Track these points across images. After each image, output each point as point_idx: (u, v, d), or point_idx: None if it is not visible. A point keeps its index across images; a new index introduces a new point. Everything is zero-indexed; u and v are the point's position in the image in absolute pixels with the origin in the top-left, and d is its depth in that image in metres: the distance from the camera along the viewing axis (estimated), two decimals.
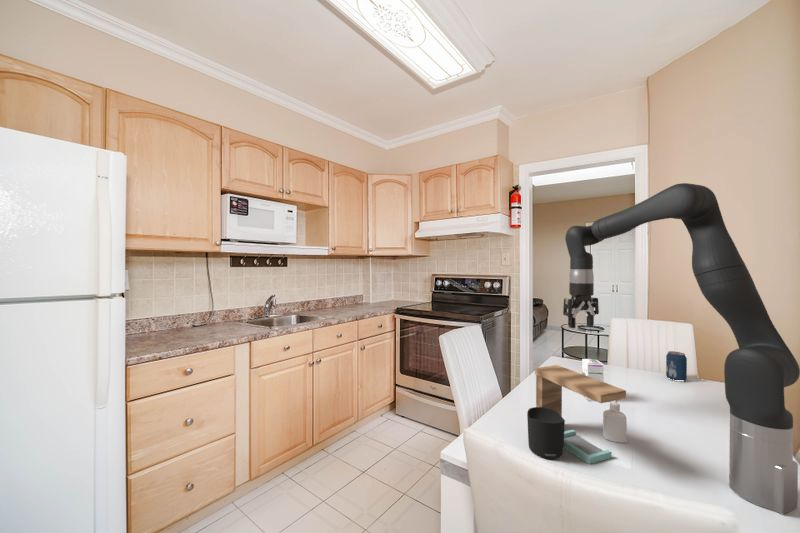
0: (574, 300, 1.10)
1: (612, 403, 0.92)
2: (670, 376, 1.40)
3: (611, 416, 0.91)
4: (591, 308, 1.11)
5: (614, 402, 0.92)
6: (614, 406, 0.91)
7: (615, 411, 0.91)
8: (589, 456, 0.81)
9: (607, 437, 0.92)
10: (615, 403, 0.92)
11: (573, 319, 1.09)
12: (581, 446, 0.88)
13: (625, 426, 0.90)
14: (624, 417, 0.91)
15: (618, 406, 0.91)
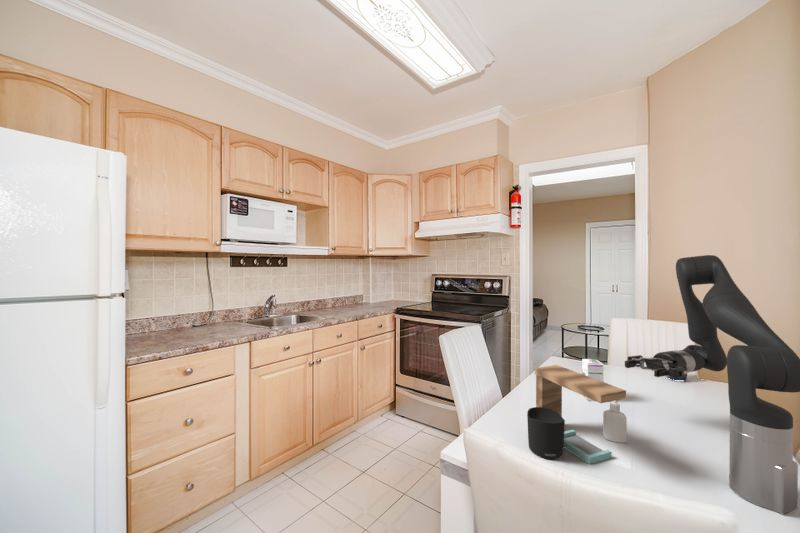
0: None
1: (612, 403, 0.92)
2: None
3: (611, 416, 0.91)
4: (665, 363, 0.96)
5: (614, 402, 0.92)
6: (614, 406, 0.91)
7: (615, 411, 0.91)
8: (589, 456, 0.81)
9: (607, 437, 0.92)
10: (615, 403, 0.92)
11: (631, 360, 1.02)
12: (581, 446, 0.88)
13: (625, 426, 0.90)
14: (624, 417, 0.91)
15: (618, 406, 0.91)
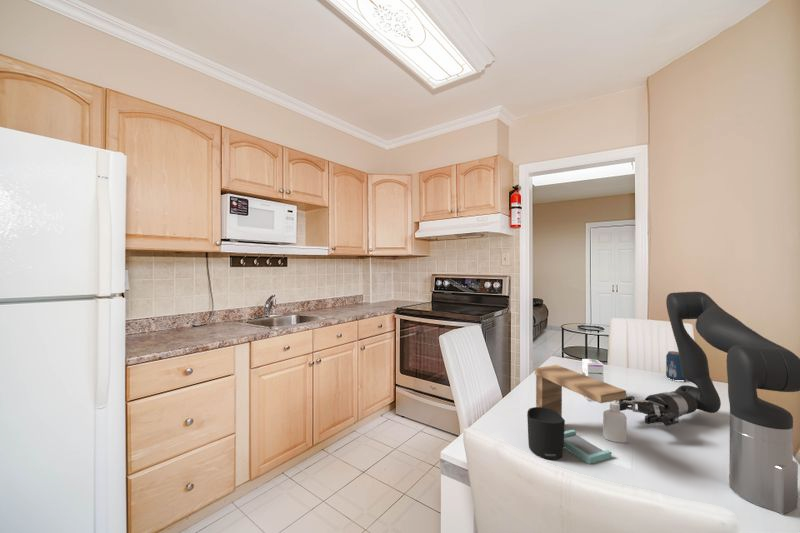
0: None
1: (612, 403, 0.92)
2: (670, 376, 1.40)
3: (611, 416, 0.91)
4: (656, 408, 0.94)
5: (614, 402, 0.92)
6: (614, 406, 0.91)
7: (615, 411, 0.91)
8: (589, 456, 0.81)
9: (607, 437, 0.92)
10: (615, 403, 0.92)
11: None
12: (581, 446, 0.88)
13: (625, 426, 0.90)
14: (624, 417, 0.91)
15: (618, 406, 0.91)
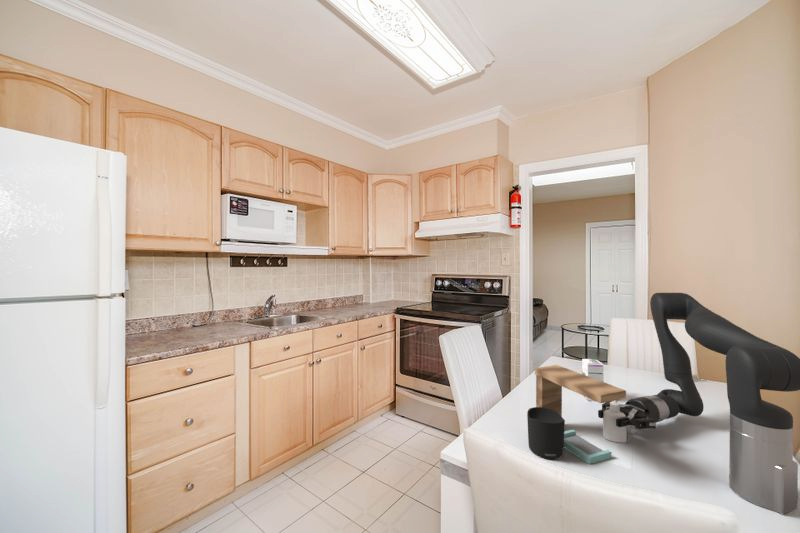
0: None
1: (612, 403, 0.92)
2: None
3: (611, 416, 0.91)
4: (632, 412, 0.92)
5: (614, 402, 0.92)
6: (614, 406, 0.91)
7: (615, 411, 0.91)
8: (589, 456, 0.81)
9: (607, 437, 0.92)
10: (615, 403, 0.92)
11: (605, 409, 0.95)
12: (581, 446, 0.88)
13: (625, 426, 0.90)
14: None
15: (618, 406, 0.91)
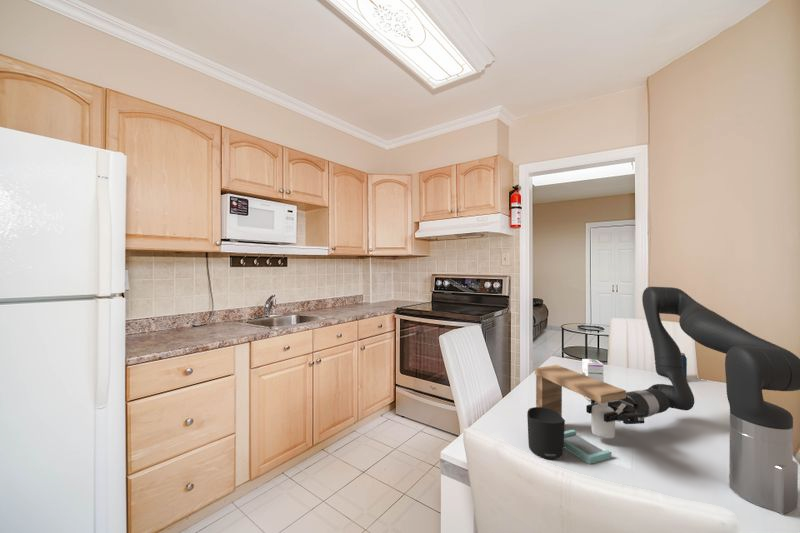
0: None
1: None
2: None
3: (599, 411, 0.90)
4: (621, 407, 0.90)
5: None
6: None
7: (603, 406, 0.90)
8: (589, 456, 0.81)
9: (595, 432, 0.90)
10: None
11: (594, 404, 0.94)
12: (581, 446, 0.88)
13: (613, 421, 0.89)
14: None
15: None
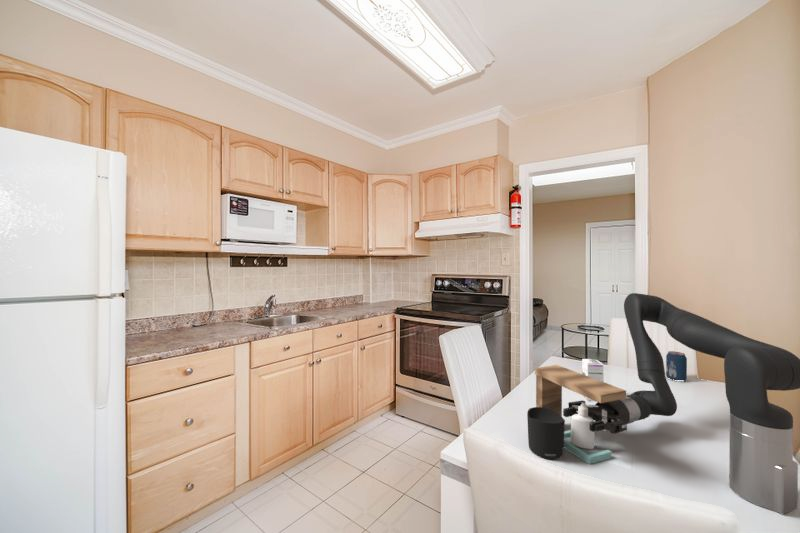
0: None
1: (580, 407, 0.88)
2: (670, 376, 1.40)
3: (579, 420, 0.87)
4: (604, 414, 0.87)
5: (582, 406, 0.88)
6: (582, 410, 0.87)
7: (583, 415, 0.87)
8: (589, 456, 0.81)
9: (574, 443, 0.88)
10: (583, 407, 0.87)
11: None
12: None
13: None
14: None
15: (586, 410, 0.87)
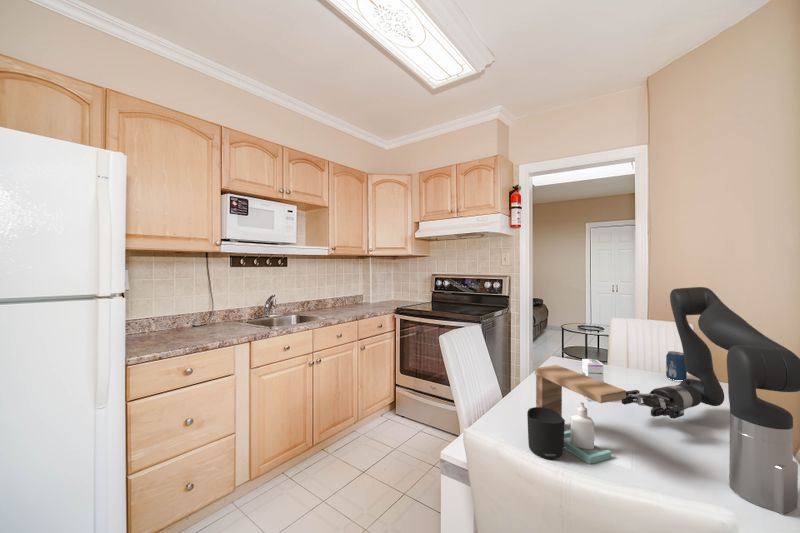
0: None
1: (579, 408, 0.88)
2: (670, 376, 1.40)
3: (578, 421, 0.87)
4: (662, 401, 0.95)
5: (581, 407, 0.88)
6: (581, 411, 0.87)
7: (582, 416, 0.87)
8: (589, 456, 0.81)
9: (574, 443, 0.88)
10: (582, 408, 0.87)
11: (628, 396, 1.01)
12: None
13: (592, 432, 0.86)
14: (591, 422, 0.86)
15: (585, 411, 0.87)
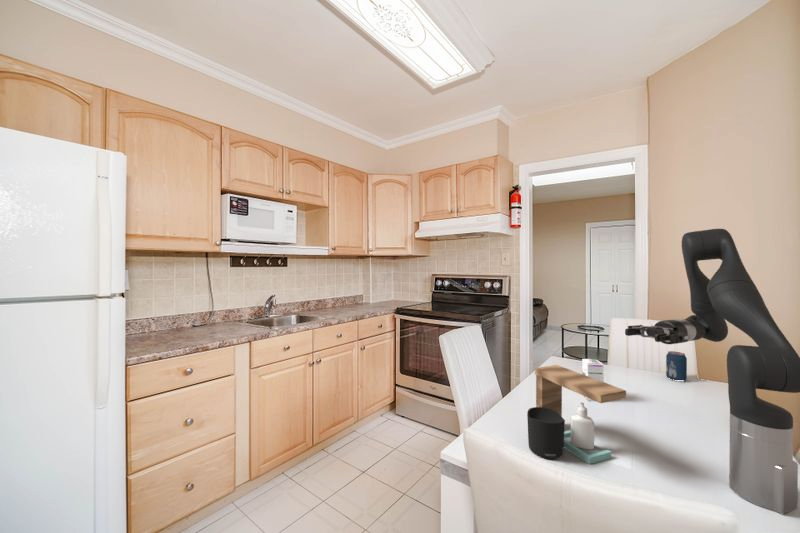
0: None
1: (579, 408, 0.88)
2: (670, 376, 1.40)
3: (578, 421, 0.87)
4: (666, 330, 0.96)
5: (581, 407, 0.88)
6: (581, 411, 0.87)
7: (582, 416, 0.87)
8: (589, 456, 0.81)
9: (574, 443, 0.88)
10: (582, 408, 0.87)
11: None
12: None
13: (592, 432, 0.86)
14: (591, 422, 0.86)
15: (585, 411, 0.87)
